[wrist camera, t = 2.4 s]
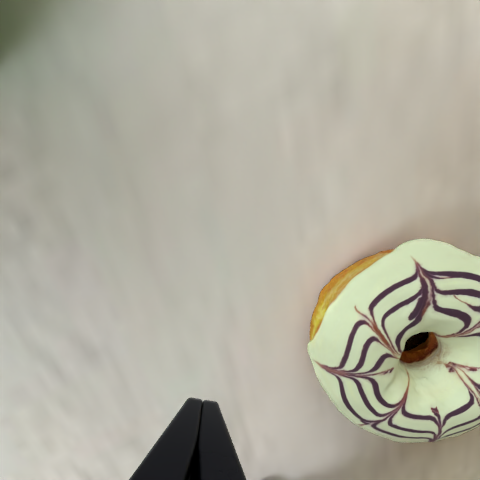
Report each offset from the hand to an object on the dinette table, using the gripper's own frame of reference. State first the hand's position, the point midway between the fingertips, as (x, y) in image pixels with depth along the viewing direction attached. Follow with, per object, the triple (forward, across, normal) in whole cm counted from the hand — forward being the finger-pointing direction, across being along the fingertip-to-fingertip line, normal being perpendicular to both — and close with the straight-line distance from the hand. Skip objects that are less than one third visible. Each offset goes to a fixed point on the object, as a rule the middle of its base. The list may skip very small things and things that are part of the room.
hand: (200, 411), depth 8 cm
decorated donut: (+8, -10, 0) cm, 13 cm away
